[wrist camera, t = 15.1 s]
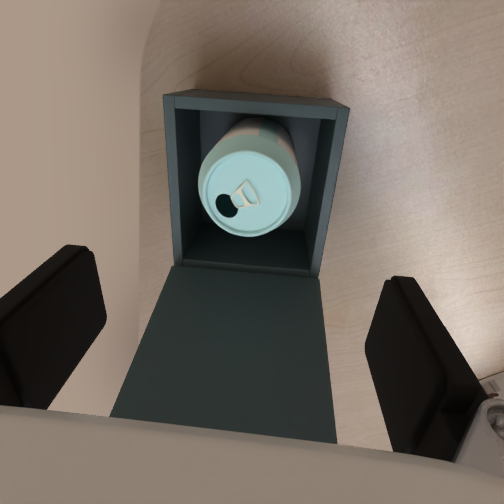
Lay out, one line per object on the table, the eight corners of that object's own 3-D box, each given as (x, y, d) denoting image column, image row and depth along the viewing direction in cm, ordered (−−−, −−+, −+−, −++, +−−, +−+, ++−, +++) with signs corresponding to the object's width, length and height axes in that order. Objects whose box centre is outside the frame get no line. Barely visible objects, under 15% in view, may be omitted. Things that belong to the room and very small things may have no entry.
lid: (95, 449, 17) (116, 481, 20) (341, 477, 16) (323, 505, 19) (171, 265, 28) (177, 304, 31) (319, 278, 28) (310, 317, 31)
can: (275, 201, 33) (273, 260, 23) (211, 173, 33) (178, 221, 22) (307, 135, 30) (322, 169, 20) (237, 102, 29) (213, 119, 19)
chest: (192, 88, 30) (162, 94, 22) (331, 98, 29) (350, 107, 22) (196, 225, 36) (173, 266, 29) (309, 234, 36) (318, 279, 28)
